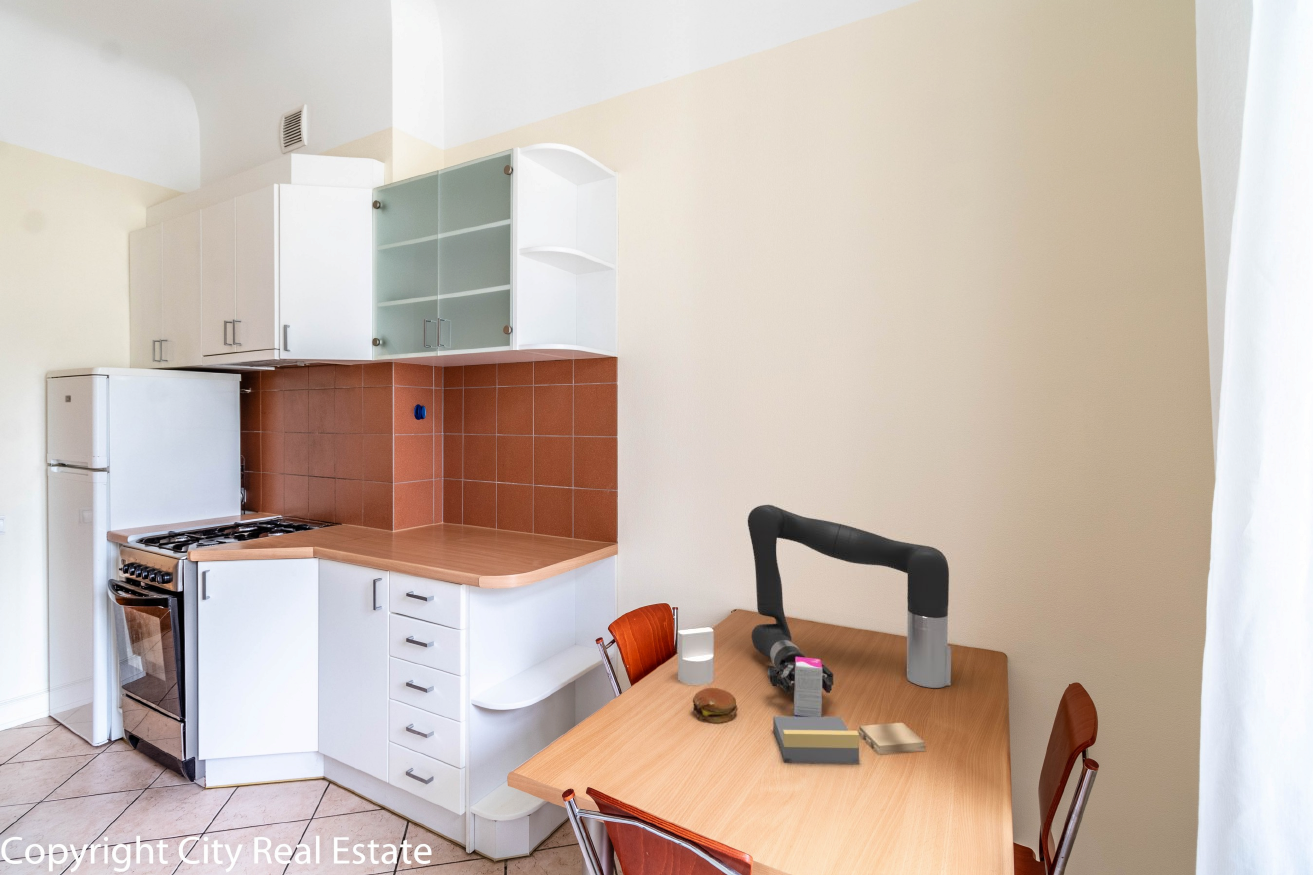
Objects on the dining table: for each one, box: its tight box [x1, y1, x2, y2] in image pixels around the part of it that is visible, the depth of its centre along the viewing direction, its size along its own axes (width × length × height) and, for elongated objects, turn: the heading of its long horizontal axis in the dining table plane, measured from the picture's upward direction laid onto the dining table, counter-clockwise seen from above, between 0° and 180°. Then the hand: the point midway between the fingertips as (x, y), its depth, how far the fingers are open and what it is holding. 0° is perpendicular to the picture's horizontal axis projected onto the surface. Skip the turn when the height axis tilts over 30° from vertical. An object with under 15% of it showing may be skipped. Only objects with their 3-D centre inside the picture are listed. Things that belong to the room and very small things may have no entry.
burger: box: [692, 687, 739, 725], centre depth 132 cm, size 10×9×5 cm
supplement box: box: [793, 657, 823, 717], centre depth 132 cm, size 6×6×12 cm
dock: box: [772, 715, 860, 765], centre depth 118 cm, size 14×12×6 cm
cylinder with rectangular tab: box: [677, 626, 715, 686], centre depth 151 cm, size 9×9×12 cm
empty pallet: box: [858, 722, 927, 756], centre depth 120 cm, size 10×8×2 cm
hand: (809, 689), depth 131 cm, fingers open, 8 cm apart
